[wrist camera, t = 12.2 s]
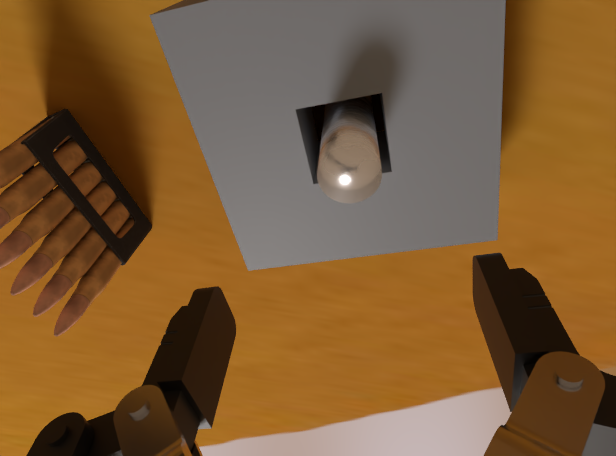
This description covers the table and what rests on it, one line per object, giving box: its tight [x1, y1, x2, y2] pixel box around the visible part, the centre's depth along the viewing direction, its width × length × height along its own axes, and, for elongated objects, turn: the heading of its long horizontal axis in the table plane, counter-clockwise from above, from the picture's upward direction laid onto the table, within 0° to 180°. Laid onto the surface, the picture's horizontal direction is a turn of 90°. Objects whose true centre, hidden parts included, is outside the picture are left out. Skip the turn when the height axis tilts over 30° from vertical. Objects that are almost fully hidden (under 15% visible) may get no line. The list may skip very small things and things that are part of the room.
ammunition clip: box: [0, 109, 152, 336], centre depth 28 cm, size 11×2×12 cm, turn 22°
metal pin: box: [317, 95, 382, 203], centre depth 24 cm, size 3×3×10 cm
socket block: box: [150, 0, 506, 271], centre depth 26 cm, size 16×16×6 cm
